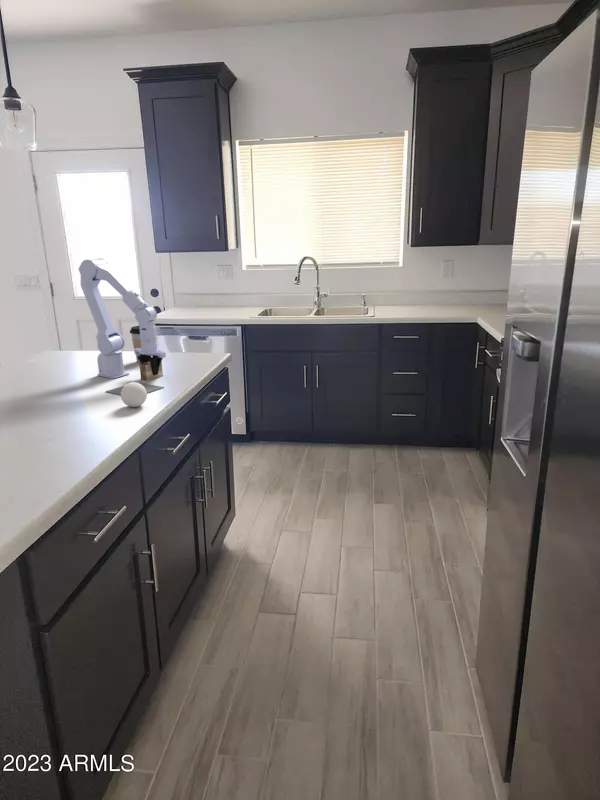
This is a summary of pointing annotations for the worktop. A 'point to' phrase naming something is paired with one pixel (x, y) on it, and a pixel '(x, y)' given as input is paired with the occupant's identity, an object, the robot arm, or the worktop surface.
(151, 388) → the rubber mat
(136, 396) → the ball
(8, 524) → the worktop surface
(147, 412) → the worktop surface
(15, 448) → the worktop surface
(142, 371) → the brown wooden block
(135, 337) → the coffee cup
